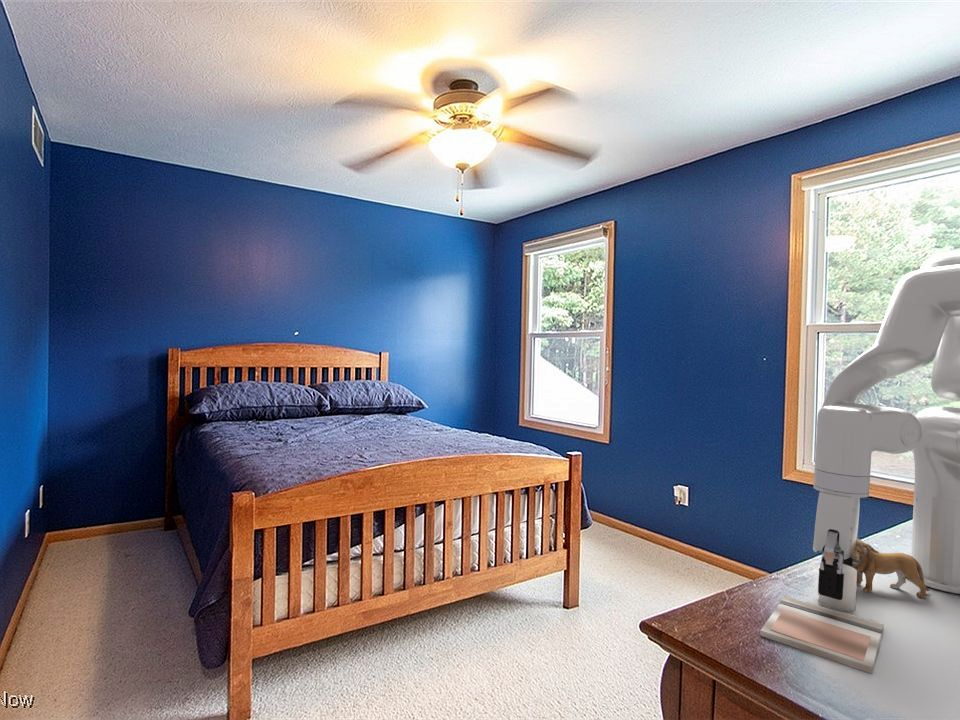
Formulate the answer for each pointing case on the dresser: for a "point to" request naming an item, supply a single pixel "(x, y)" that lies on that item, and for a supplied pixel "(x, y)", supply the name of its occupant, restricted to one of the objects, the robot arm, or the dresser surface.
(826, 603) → the white rounded cylinder
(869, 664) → the board
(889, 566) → the lion figurine
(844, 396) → the robot arm
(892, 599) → the dresser surface
